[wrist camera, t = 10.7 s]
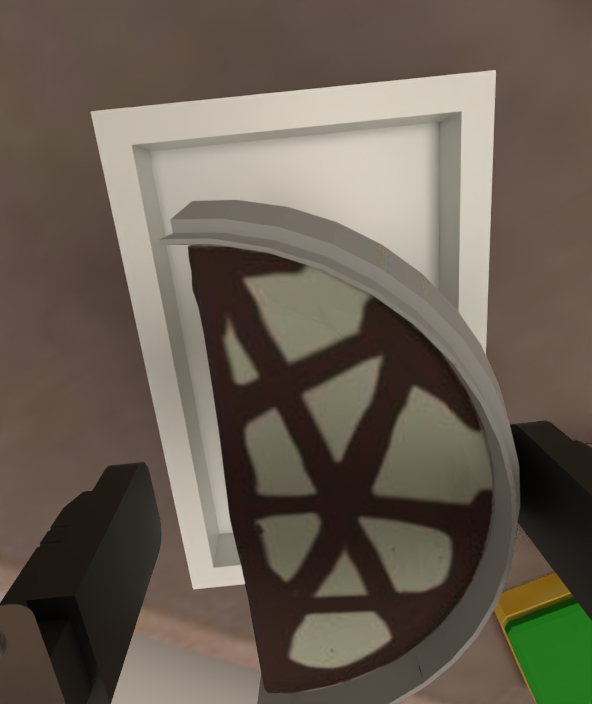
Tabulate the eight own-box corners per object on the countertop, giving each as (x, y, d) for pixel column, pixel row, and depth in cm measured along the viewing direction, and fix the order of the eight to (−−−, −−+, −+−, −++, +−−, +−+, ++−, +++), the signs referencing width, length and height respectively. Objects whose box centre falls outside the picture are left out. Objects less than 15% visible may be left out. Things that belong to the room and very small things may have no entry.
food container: (436, 486, 20) (530, 758, 10) (293, 491, 20) (256, 751, 11) (434, 178, 16) (586, 155, 6) (257, 197, 16) (151, 203, 7)
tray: (203, 539, 22) (193, 589, 19) (123, 126, 16) (90, 111, 14) (452, 512, 22) (478, 559, 19) (458, 92, 16) (495, 70, 14)
